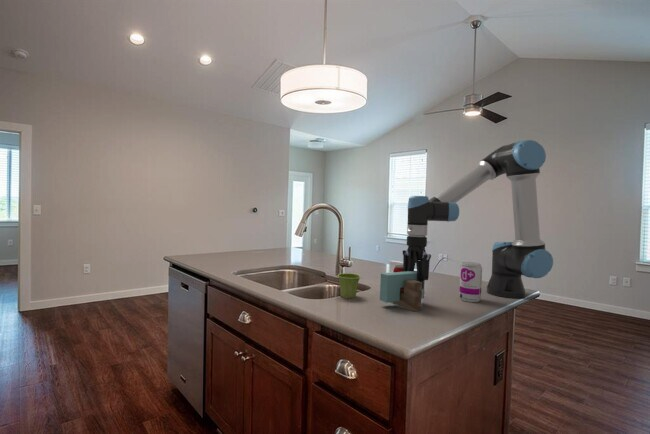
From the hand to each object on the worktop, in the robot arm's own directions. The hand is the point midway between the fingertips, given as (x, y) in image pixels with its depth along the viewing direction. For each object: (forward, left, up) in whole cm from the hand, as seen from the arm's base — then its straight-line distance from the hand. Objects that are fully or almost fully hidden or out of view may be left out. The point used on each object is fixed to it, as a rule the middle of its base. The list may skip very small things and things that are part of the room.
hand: (414, 295), depth 134 cm
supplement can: (-25, +5, -3) cm, 26 cm away
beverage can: (-4, -13, -3) cm, 14 cm away
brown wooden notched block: (+6, 0, -3) cm, 7 cm away
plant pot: (+19, -18, -3) cm, 26 cm away
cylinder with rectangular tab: (-11, -23, -3) cm, 26 cm away
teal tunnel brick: (+6, 0, -1) cm, 6 cm away
